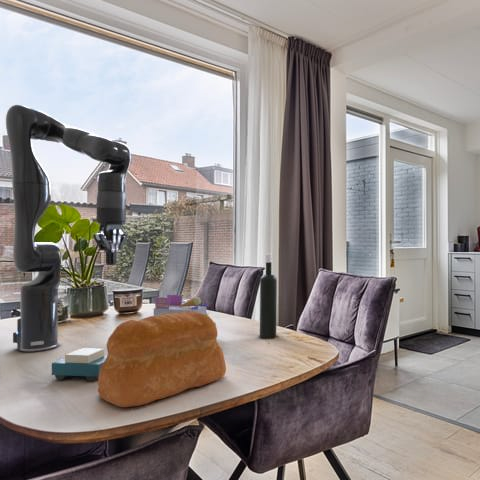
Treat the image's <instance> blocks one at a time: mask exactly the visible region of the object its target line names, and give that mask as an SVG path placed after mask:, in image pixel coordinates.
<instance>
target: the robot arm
mask: <svg viewBox="0 0 480 480" xmlns="http://www.w3.org/2000/svg"><path fill="white" fill-rule="evenodd" d="M5 130H6V135H7V140H8V147H9V153H10V161H11V162H10V163H11V176H12V177H11V178H12V179H11V181H12V182H11V184H12V200H13V214H14V217H13V218H14V229H13V247H12V260H13V264H14V267H15V269H16V270H17V271H18V272H19V273H23V274H28V273H38V274H37V276H35V278H34V279H32V280H30V281H28V282H26V283H24V284H22V285H21V286H20V318H18V319H17V320H16V323H17V324H16V325H17V326H16V331H15V332H12V343H13V344H16V350H17V351H20V352H25V353H29V352H41V351H48V350H52V349H55V348H57V347H58V346H59V341H58V340H59V335H58V334H59V320H58V319H59V302H58V301H59V294H58V293H59V286H60V282H61V270H62V251H61V248H60V246H59V245H58V244H57V243H55V242H51V241H49V242H47V241H46V242H44V241H43V242H42V241H40V242H39V241H38V242H35V232H36V227H37V225H38V223H39V221H40V219H41V218H42V216H43V215H44V213H45V212H46V211H47V209H48V208H49V206H50V204H51V200H52V195H51V194H52V191H51V181H50V177H49V175H48V174H47V172H46V170H45V169H44V167H43V165H42V164H41V163H40V161H39V159H38V158H37V156H36V155H35V152H34V149H33V143H32V140H35V141H45V142H53V143H57V144H61V145H62V146H64V147H65V148H66V149H68V150H70V151H73V152H76V153H78V154H81V155H84V156H87V157H89V158H90V159H92V160H95V161H97V162H100V163H102V164H103V163H104V164H109V167H108V170H106V171H105V170H104V171H101V172H99V173H98V175H97V195H96V222H97V223H99V228H98V232H97V233H93V234H92V237H93V239H94V241H95V243H96V244H97V247H98V248H99V250H100V251H103V252H104V253H105V264H106V266H117V262H118V261H117V259H118V258H117V257H118V255H117V254H118V252H119V251H121V250H122V249H123V248H124V246H125V243H126V241H127V239H128V237H129V235H128V233H125V232H124V228H123V224H126V222H127V197H126V177H127V175H128V171H129V168H130V165H131V161H132V152H131V150H130V148H129V146H128V145H127V144H125V143H123V142H119V141H117V140H113V139H109V138H105V137H102V136H99V135H97V134H95V133H93V132H90V131H87V130H84V129H81V128H78V127H75V126H70V125H67V124H65V123H63V122H61V121H59V120H57V119H56V118H54V117H52V115H49V114H47V113H46V112H44V111H42V110H38V109H34V108H31V107H28V106H25V105H22V104H14V105H11V106H10V107H9V108H8V110H7V112H6V115H5Z"/></svg>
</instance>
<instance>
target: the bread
mask: <svg viewBox="0 0 480 480" xmlns="http://www.w3.org/2000/svg"><path fill="white" fill-rule="evenodd" d="M214 322H215V321H214V320H213V319H212V318H211V317H210V316H209V315H208V314H207V315H205V314H202V313H198V312H193V311H185V312H182V313H173V314H162V315H157V316H154V315H150V316H147V317H144V318H142V319H139V320H136V319H135V320H134V319H129V320H126V321H122V323H119V324H118V325H117V326H116V327H115V328H114V330H113V331H112V333H111V334H110V336H109V337H108V339H107V342H106V351H107V355H106V356H107V357H106V359H105V361H104V362H103V364H102V367H101V369H100V372H99V377H98V379H97V380H98V381H97V382H98V387H97V392H98V395H99V397H100V398H101V399H103V401H105V402H107V403H110V404H112V405H114V406H116V407H119V408H131V407H137V406H138V407H139V406H143V405H146V404H149V403H152V402H154V401H156V400H161V399H164V398H167V397H173V396H175V395H178V394H180V393H182V392H184V391H186V390H188V389H194V388H198V387H202V386H204V385H208V384H211V383H213V382H215V381H218V380H220V379H222V378H223V377H224V376H225V375H226V372H227V365H226V360H225V355H224V352H223V349H222V347H221V346H220V344H219V342H218V340H217V337H218V328H217V324H216V325H215V323H216V322H215V323H214Z"/></svg>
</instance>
